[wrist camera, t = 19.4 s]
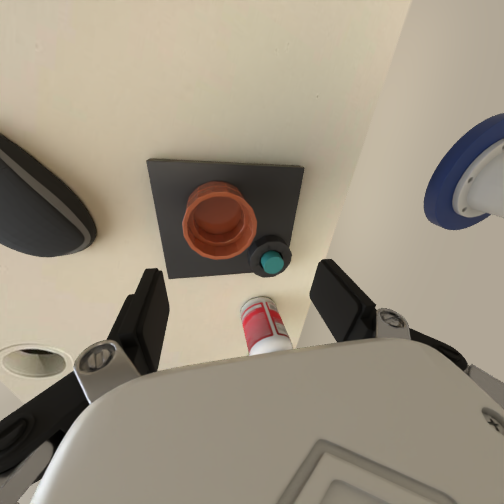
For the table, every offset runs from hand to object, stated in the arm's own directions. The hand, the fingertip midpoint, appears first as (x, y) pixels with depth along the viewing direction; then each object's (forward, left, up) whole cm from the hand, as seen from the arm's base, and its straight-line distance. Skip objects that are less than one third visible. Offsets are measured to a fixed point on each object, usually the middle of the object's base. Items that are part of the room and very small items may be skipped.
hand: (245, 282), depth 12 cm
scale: (-1, +2, -14) cm, 14 cm away
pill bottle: (-6, +18, -14) cm, 24 cm away
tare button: (-6, +6, -11) cm, 14 cm away
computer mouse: (+18, -1, -14) cm, 23 cm away
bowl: (+1, 0, -13) cm, 13 cm away
